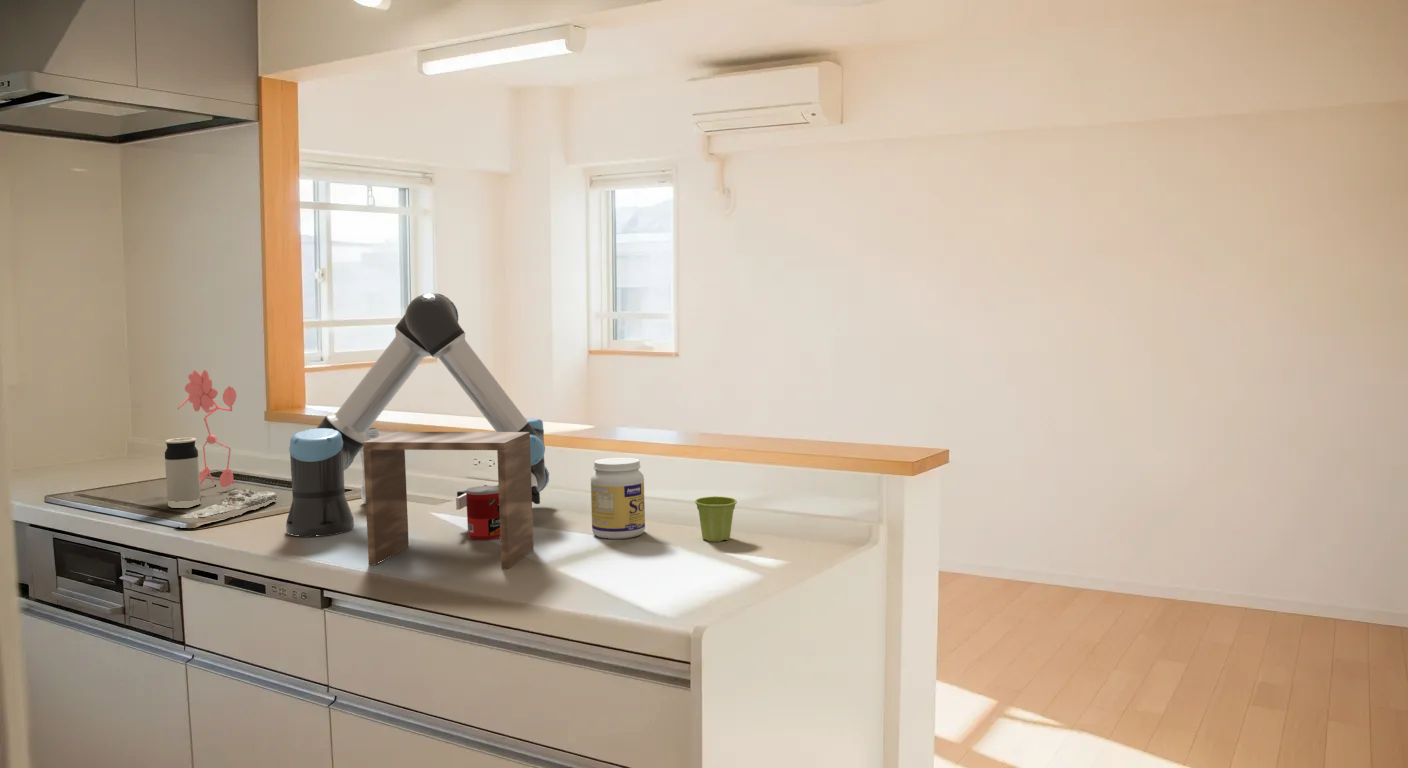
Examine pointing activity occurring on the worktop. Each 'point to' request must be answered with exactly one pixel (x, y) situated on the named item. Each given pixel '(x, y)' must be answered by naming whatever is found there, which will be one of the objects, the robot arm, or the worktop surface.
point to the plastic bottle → (370, 435)
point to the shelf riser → (389, 450)
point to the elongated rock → (233, 503)
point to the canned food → (483, 512)
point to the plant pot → (716, 517)
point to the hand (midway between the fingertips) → (486, 504)
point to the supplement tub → (617, 498)
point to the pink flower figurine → (203, 397)
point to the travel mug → (182, 470)
